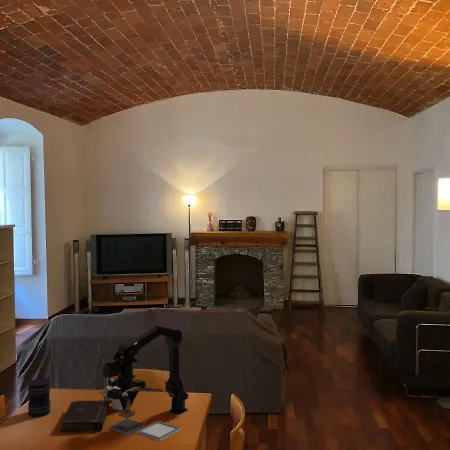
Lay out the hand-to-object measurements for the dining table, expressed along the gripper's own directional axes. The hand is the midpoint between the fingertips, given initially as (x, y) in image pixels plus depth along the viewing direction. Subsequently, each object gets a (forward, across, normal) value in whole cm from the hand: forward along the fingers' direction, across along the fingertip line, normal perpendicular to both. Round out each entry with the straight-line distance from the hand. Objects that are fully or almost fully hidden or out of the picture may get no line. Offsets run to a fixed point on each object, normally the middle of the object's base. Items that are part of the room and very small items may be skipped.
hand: (126, 408), depth 231 cm
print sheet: (+8, -5, +14) cm, 17 cm away
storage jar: (+8, +12, -45) cm, 47 cm away
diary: (+9, +5, -21) cm, 24 cm away
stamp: (+3, 0, 0) cm, 3 cm away
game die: (+9, -17, -29) cm, 35 cm away
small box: (+9, -15, -19) cm, 26 cm away
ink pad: (+8, 0, 0) cm, 8 cm away
